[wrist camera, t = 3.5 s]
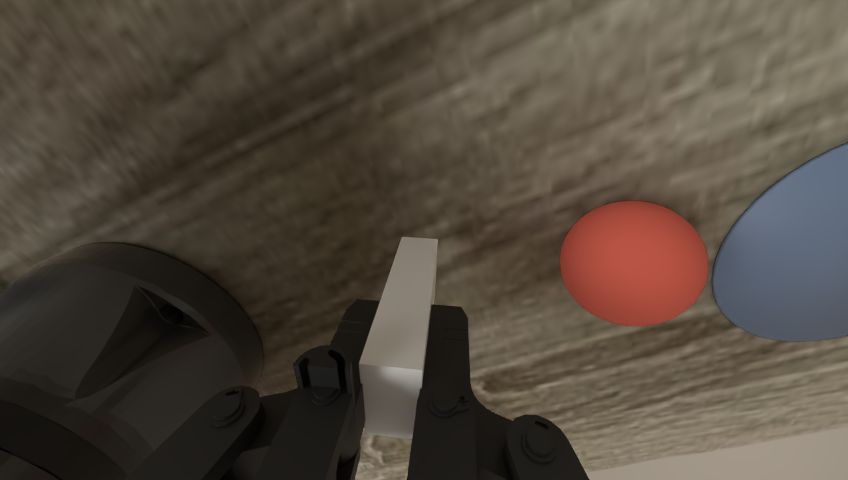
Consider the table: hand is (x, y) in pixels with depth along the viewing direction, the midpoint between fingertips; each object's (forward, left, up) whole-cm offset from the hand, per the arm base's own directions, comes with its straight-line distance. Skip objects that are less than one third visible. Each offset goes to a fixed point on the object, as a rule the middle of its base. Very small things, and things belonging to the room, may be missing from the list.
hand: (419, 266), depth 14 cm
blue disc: (+21, 0, -4) cm, 22 cm away
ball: (+9, 0, -1) cm, 9 cm away
